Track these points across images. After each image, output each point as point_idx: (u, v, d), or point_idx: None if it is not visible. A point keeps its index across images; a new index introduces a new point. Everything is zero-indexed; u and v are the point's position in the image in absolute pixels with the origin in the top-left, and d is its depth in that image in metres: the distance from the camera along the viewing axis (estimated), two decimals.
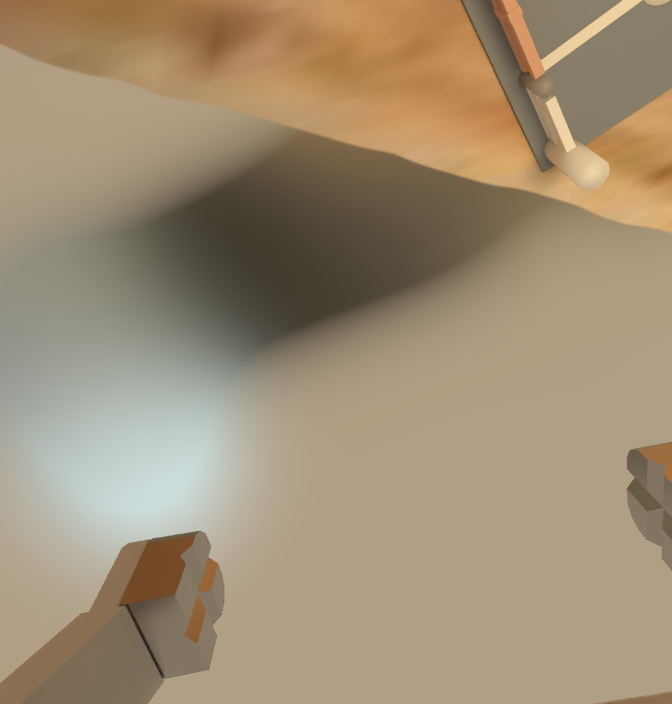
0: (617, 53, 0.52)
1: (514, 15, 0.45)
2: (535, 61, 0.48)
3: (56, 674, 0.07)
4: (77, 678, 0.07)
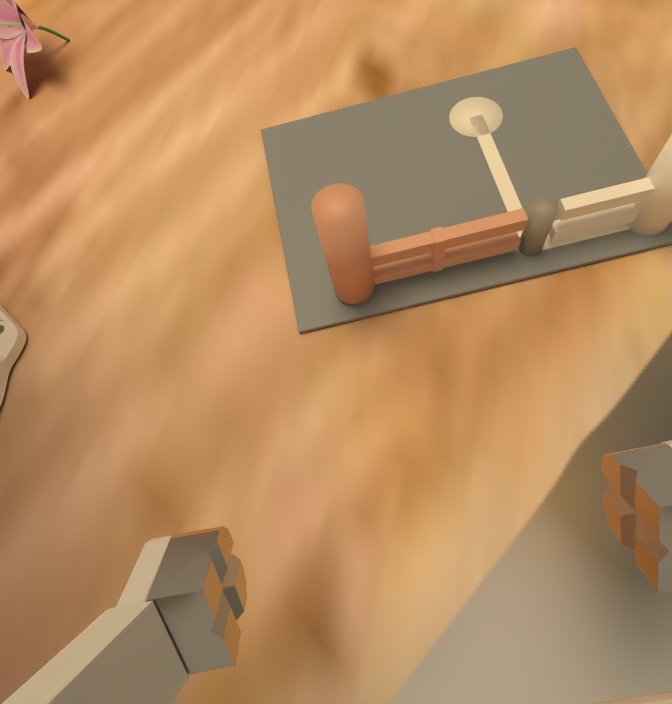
0: (540, 153, 0.43)
1: (439, 235, 0.36)
2: (504, 218, 0.36)
3: (87, 668, 0.07)
4: (107, 673, 0.07)
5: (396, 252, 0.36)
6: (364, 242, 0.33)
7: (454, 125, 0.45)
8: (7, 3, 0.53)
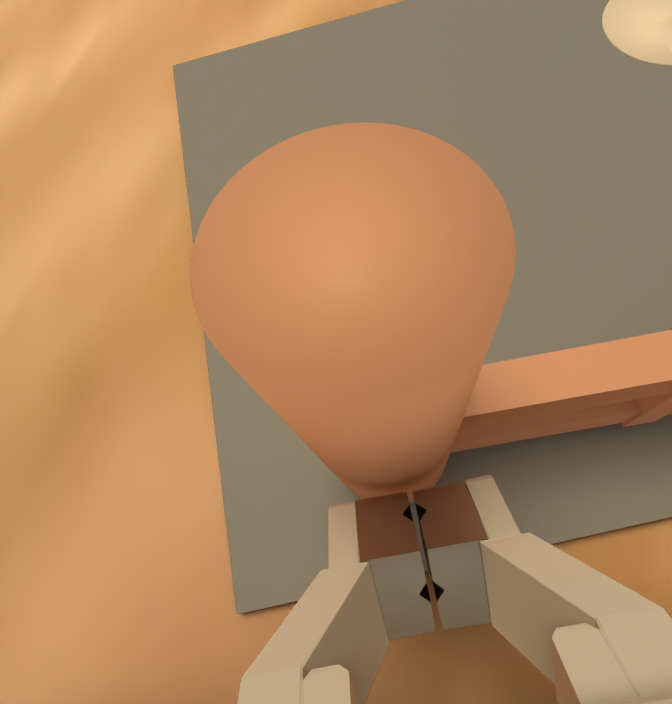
0: None
1: None
2: None
3: (330, 626, 0.07)
4: (343, 632, 0.07)
5: (553, 401, 0.10)
6: (465, 407, 0.07)
7: (617, 42, 0.19)
8: None
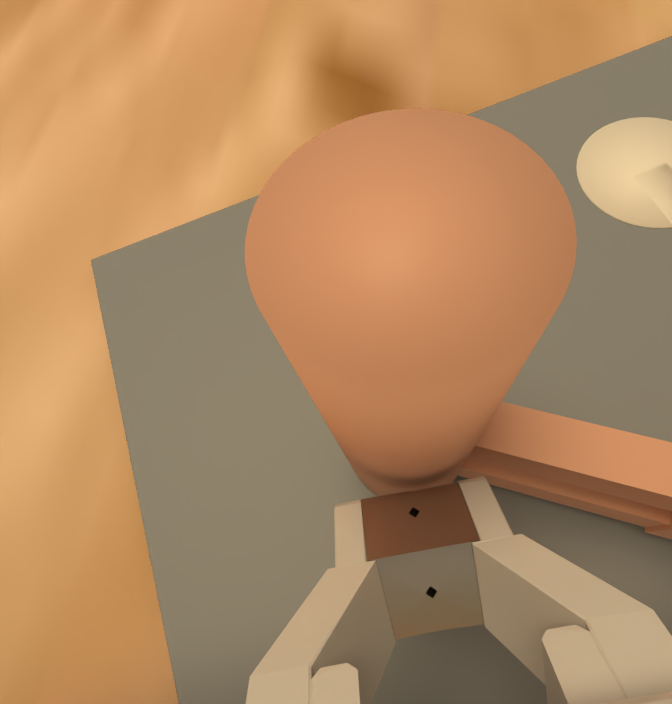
0: None
1: None
2: None
3: (338, 625, 0.07)
4: (350, 631, 0.07)
5: (574, 471, 0.10)
6: (471, 433, 0.07)
7: (599, 201, 0.17)
8: None
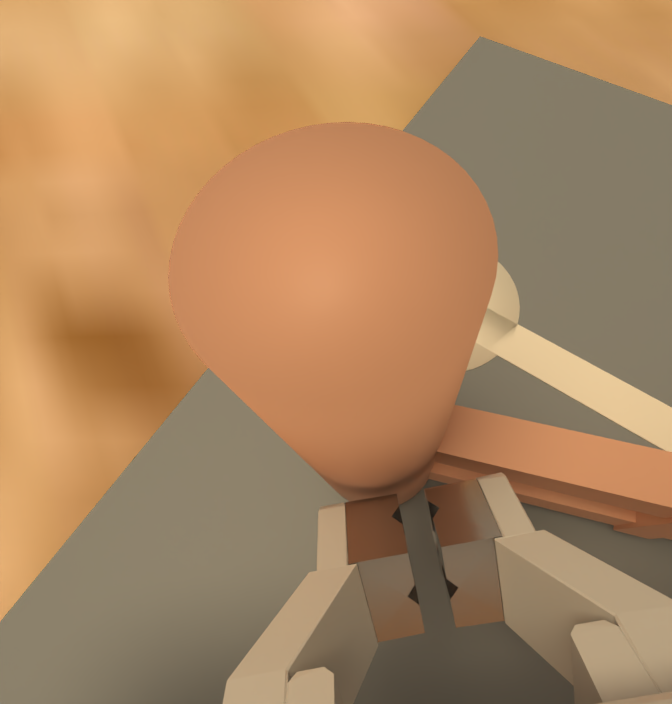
0: None
1: None
2: None
3: (317, 628, 0.07)
4: (330, 635, 0.07)
5: (534, 475, 0.10)
6: (421, 444, 0.07)
7: None
8: None
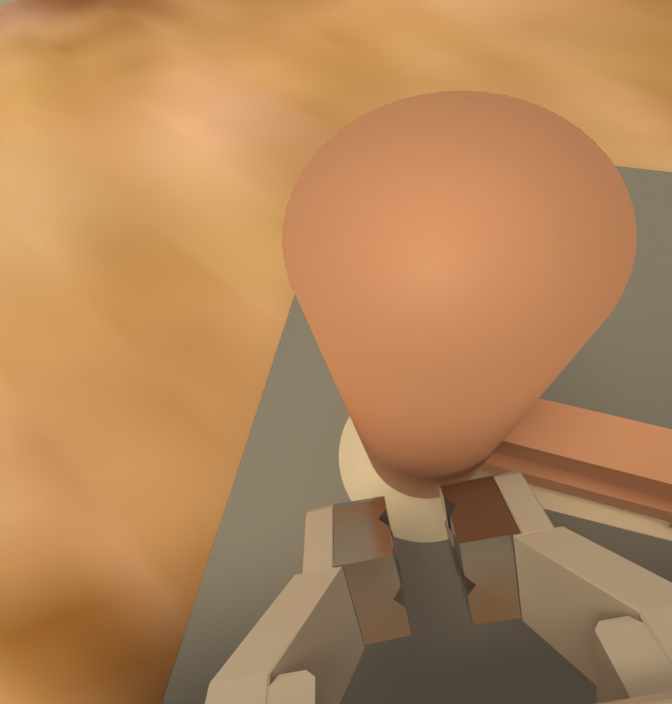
0: (647, 372, 0.14)
1: None
2: None
3: (301, 632, 0.07)
4: (314, 637, 0.07)
5: (603, 467, 0.09)
6: (507, 430, 0.07)
7: (418, 532, 0.14)
8: None
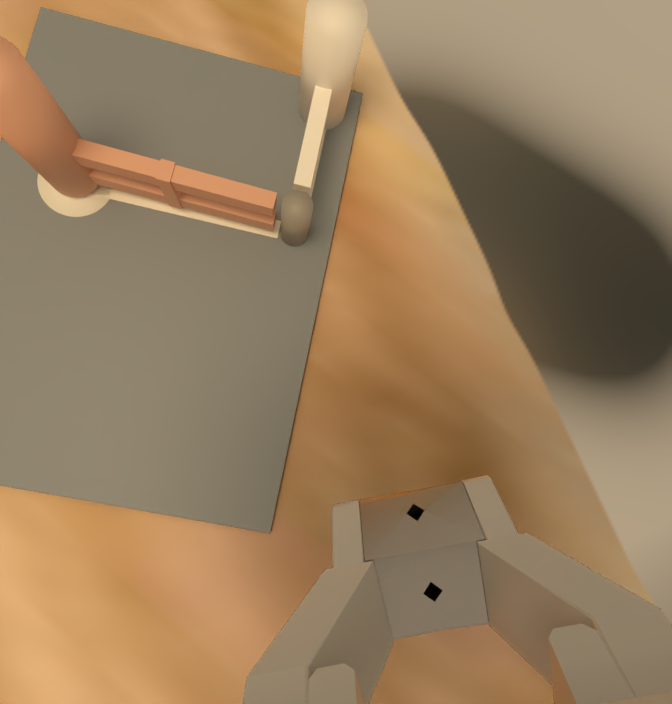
0: (179, 148, 0.33)
1: (165, 172, 0.28)
2: (249, 192, 0.29)
3: (336, 625, 0.07)
4: (347, 631, 0.07)
5: (106, 164, 0.28)
6: (39, 135, 0.25)
7: (74, 213, 0.32)
8: None
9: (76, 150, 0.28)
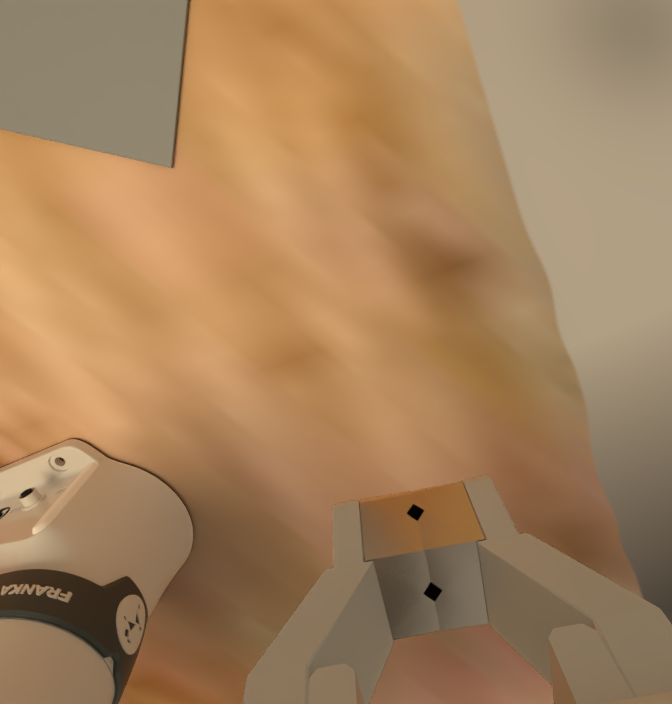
0: None
1: None
2: None
3: (336, 626, 0.07)
4: (347, 631, 0.07)
5: None
6: None
7: None
8: None
9: None
